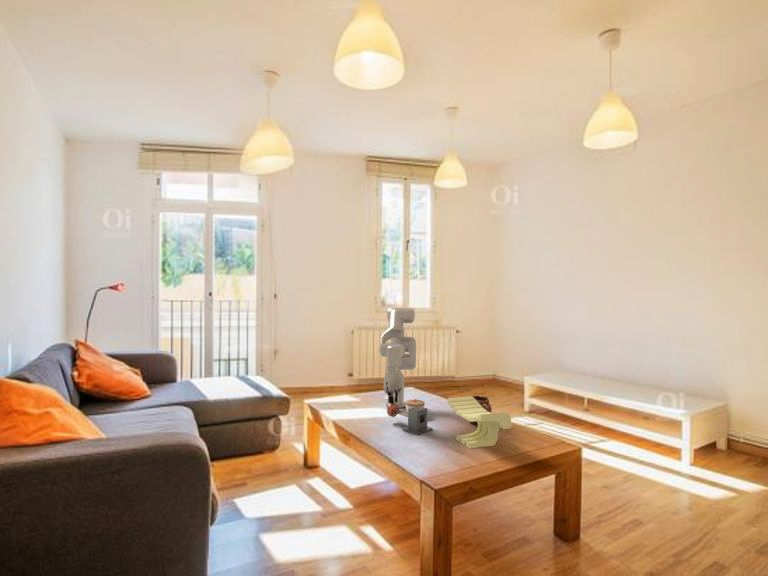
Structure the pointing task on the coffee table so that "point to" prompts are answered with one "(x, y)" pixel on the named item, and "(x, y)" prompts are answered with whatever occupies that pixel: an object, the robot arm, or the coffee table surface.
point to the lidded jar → (414, 404)
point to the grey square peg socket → (417, 421)
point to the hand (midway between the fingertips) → (393, 402)
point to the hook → (395, 409)
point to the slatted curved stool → (479, 422)
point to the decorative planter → (484, 403)
